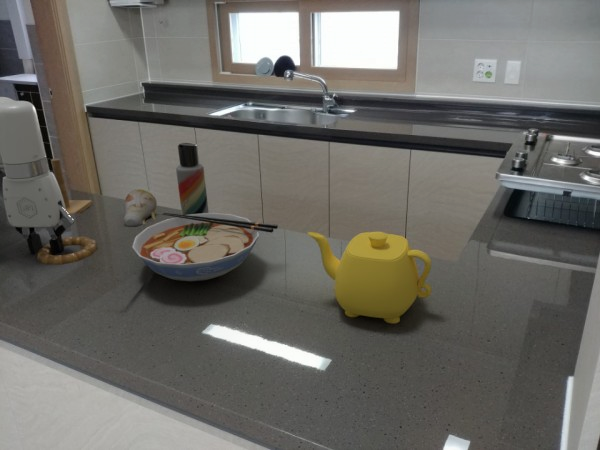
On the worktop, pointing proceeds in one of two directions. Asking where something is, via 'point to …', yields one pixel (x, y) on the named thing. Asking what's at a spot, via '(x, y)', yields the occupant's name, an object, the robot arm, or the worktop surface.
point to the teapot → (376, 275)
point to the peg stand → (70, 205)
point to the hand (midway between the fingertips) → (48, 254)
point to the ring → (49, 259)
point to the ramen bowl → (198, 244)
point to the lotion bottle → (191, 181)
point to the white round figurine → (139, 207)
